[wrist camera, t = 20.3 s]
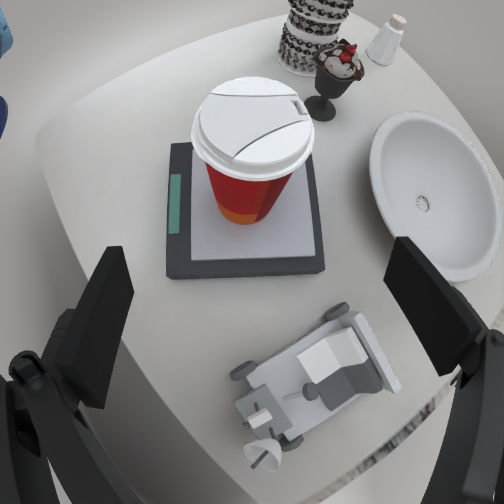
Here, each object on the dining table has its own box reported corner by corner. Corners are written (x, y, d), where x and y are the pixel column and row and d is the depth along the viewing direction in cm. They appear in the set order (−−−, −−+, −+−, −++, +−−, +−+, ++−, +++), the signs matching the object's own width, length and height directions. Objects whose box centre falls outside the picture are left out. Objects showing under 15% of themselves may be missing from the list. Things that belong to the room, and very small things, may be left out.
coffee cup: (267, 157, 33) (291, 64, 19) (293, 223, 32) (340, 154, 17) (196, 177, 32) (176, 86, 18) (217, 246, 31) (206, 188, 16)
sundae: (318, 133, 39) (354, 58, 24) (289, 101, 40) (311, 23, 25) (349, 117, 40) (389, 49, 25) (321, 87, 41) (349, 16, 26)
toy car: (271, 497, 20) (201, 408, 22) (260, 455, 30) (209, 382, 32) (425, 392, 23) (378, 297, 25) (382, 376, 33) (340, 301, 34)
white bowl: (422, 323, 35) (452, 323, 28) (313, 181, 37) (329, 157, 31) (491, 224, 39) (517, 213, 32) (409, 113, 41) (427, 91, 35)
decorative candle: (339, 66, 42) (389, -48, 18) (306, 86, 40) (351, -50, 16) (300, 39, 43) (330, -73, 19) (264, 56, 41) (285, -74, 17)
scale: (171, 279, 34) (164, 275, 30) (174, 155, 37) (170, 140, 33) (317, 273, 35) (327, 269, 31) (304, 153, 38) (311, 138, 34)
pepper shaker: (391, 55, 45) (413, 19, 34) (390, 70, 43) (414, 31, 33) (366, 44, 45) (385, 5, 34) (364, 58, 43) (385, 17, 33)
